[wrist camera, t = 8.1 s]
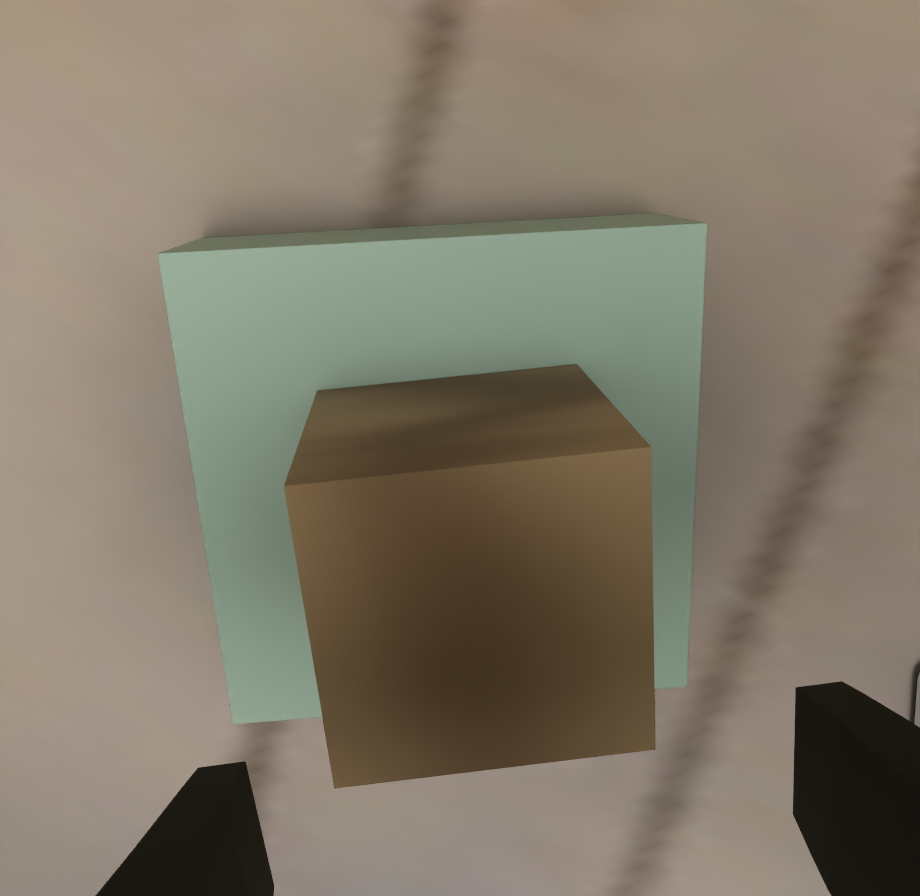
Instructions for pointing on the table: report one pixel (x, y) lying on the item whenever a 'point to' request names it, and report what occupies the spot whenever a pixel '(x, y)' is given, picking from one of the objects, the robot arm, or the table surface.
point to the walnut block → (475, 573)
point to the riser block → (409, 359)
